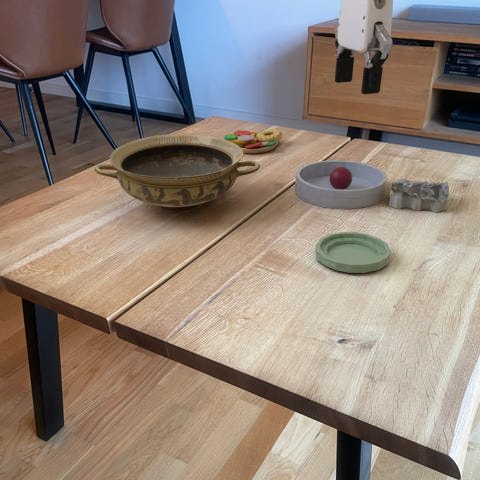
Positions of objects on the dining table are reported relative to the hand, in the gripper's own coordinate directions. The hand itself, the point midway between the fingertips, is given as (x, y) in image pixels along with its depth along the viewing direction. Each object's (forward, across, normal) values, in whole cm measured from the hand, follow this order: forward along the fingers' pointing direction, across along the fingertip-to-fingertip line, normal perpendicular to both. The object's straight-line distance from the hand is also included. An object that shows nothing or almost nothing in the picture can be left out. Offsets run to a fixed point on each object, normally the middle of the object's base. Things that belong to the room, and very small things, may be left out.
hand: (356, 87), depth 95 cm
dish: (+20, +4, -1) cm, 21 cm away
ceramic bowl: (+20, +8, +31) cm, 38 cm away
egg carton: (+20, -7, -12) cm, 24 cm away
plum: (+18, +4, -1) cm, 18 cm away
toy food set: (+20, +38, +6) cm, 43 cm away
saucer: (+20, -22, +10) cm, 32 cm away
